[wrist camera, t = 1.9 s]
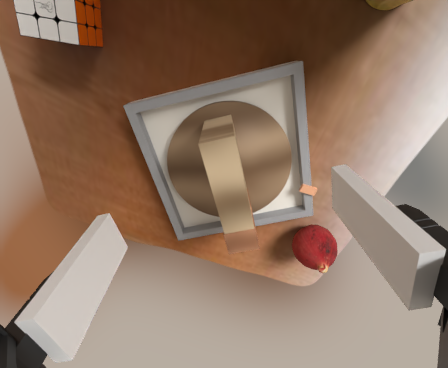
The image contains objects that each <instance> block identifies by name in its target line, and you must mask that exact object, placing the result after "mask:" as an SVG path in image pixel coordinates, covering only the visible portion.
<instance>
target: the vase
mask: <svg viewBox="0 0 448 368" xmlns="http://www.w3.org/2000/svg"><path fill="white" fill-rule="evenodd" d="M410 1H413V0H366V2H367V3H368V4H369V5H370V6H372V7H373V8H375V9H378V10H390V9H393V8H395V7H398V6H400V5H401V4H404V3H407V2H410Z"/></svg>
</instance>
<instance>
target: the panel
mask: <svg viewBox="0 0 448 368" xmlns="http://www.w3.org/2000/svg"><path fill="white" fill-rule="evenodd" d="M219 101H241V102H246V103H250V104H252V105H255V106H257V107H259V108H261V109H263V110H264V111H266V112H267V113H268V114H270V115H271V116H272V117H273V118H274V119H275V120H276V121H277V122H278V123H279V125H280V126H281V127H282V129H283V130H284V132H285V134H286V136H287V138H288V140H289V143H290V147H291V153H292V165H291V171H290V175H289V178H288V180H287V183H286V184H285V186H284V188H283V190H282V191H281V192H280V194H279V195H278V196H277V197H276V198H275V199H274V200H273V201H272V202H271V203H269V204H268V205H267V206H265V207H264V208H262V209H260V210H258V211H256V212H254V213H253V217H254V222H255V226H259V225H265V224H270V223H275V222H281V221H286V220H291V219H297V218H302V217H307V216H313V201H312V195H313V196H314V195H315V193H316V191H317V188H316V187H313V186H311V172H310V157H309V142H308V127H307V112H306V97H305V82H304V68H303V61H292V62H288V63H284V64H280V65H276V66H272V67H268V68H264V69H260V70H256V71H252V72H248V73H244V74H240V75H236V76H232V77H228V78H224V79H220V80H216V81H212V82H208V83H204V84H200V85H196V86H192V87H188V88H184V89H180V90H176V91H172V92H168V93H164V94H160V95H156V96H152V97H148V98H144V99H140V100H136V101H132V102H130V103H128V104H126V105H124V106H123V107H124V109H125V112H126V114H127V116H128V119H129V121H130V124H131V126H132V129H133V131H134V133H135V136H136V138H137V141H138V143H139V146H140V148H141V150H142V153H143V155H144V158H145V160H146V163H147V165H148V167H149V170H150V172H151V175H152V177H153V180H154V182H155V185H156V187H157V189H158V192H159V194H160V197H161V199H162V202H163V204H164V206H165V209H166V211H167V214H168V216H169V219H170V221H171V223H172V226H173V228H174V231H175V233H176V236H177V238H178V241H179V240H184V239H190V238H195V237H200V236H206V235H211V234H216V233H222V232H223V228H222V224H221V221H220V217H217V216H212V215H209V214H206V213H203V212H201V211H199V210H197V209H195V208H194V207H192V206H191V205H189V204H188V203H187V202H186V201H185V200H184V199H183V198H182V197H181V196H180V195H179V194H178V193H177V191H176V189H175V188H174V186H173V184H172V182H171V180H170V177H169V173H168V167H167V154H168V148H169V145H170V141H171V139H172V137H173V135H174V133H175V131H176V130H177V128H178V127H179V125H180V124H181V123H182V122H183V121H184V119H185V118H187V117H188V116H189V115H190V114H191V113H193V112H194V111H196V110H197V109H199V108H201V107H203V106H205V105H208V104H211V103H214V102H219Z"/></svg>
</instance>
